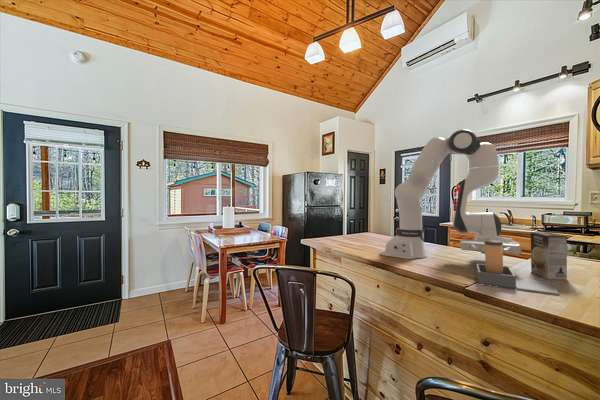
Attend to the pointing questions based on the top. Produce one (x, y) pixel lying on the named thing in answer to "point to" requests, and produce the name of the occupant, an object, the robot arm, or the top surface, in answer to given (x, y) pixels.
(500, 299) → the top surface
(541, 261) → the coffee box
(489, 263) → the lidded coffee cup
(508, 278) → the mailer box
